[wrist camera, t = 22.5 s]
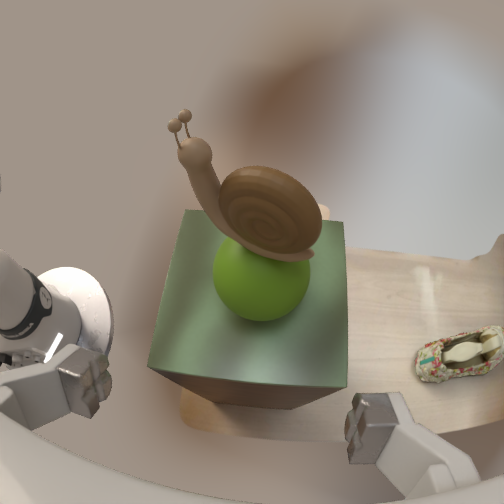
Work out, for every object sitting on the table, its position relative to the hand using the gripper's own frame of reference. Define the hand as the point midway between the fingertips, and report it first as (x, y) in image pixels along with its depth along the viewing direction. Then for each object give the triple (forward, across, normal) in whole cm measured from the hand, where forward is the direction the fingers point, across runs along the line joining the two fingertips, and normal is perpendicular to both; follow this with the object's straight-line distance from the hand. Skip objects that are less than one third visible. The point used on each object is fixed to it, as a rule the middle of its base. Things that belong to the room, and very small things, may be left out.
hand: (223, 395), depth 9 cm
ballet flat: (+35, -38, +20) cm, 55 cm away
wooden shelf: (+32, 0, +22) cm, 39 cm away
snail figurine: (+11, 0, +1) cm, 11 cm away
